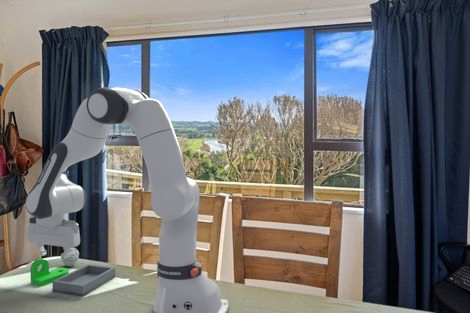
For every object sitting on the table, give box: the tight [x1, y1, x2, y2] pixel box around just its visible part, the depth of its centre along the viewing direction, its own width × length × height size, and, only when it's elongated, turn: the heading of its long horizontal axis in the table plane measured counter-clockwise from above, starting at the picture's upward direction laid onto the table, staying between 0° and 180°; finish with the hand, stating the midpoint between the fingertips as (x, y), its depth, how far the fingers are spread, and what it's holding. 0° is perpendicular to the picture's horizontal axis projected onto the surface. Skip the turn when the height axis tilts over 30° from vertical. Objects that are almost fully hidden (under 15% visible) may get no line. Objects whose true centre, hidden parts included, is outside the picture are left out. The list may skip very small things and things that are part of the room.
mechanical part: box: [30, 258, 70, 287], centre depth 124 cm, size 12×6×8 cm, turn 151°
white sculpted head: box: [61, 247, 80, 267], centre depth 137 cm, size 6×7×7 cm
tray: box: [52, 263, 116, 297], centre depth 120 cm, size 12×17×4 cm
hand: (53, 256), depth 123 cm, fingers open, 8 cm apart
